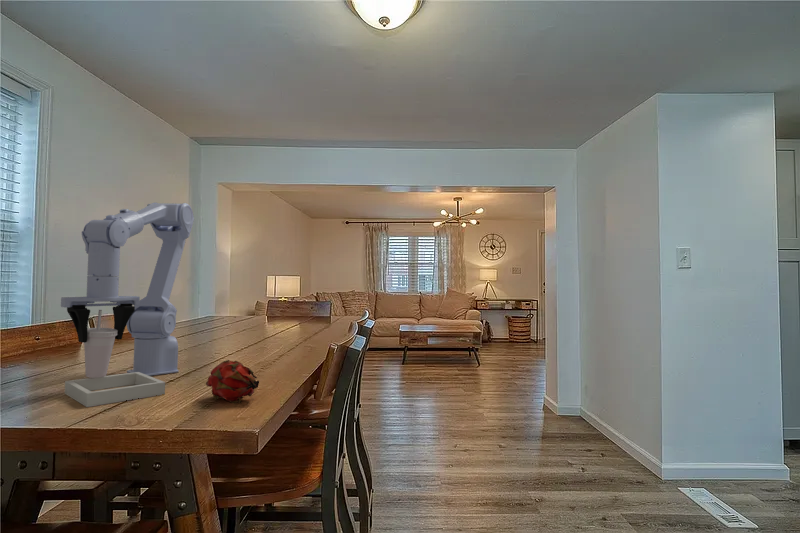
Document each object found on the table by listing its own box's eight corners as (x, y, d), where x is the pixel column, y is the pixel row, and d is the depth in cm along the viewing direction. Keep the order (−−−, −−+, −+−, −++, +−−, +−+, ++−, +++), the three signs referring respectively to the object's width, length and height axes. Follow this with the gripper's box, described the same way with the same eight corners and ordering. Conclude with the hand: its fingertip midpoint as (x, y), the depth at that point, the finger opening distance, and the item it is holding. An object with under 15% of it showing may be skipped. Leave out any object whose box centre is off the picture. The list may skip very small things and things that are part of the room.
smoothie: (70, 376, 98) (76, 308, 98) (96, 370, 105) (102, 307, 105) (95, 380, 97) (102, 312, 97) (120, 374, 103) (127, 310, 103)
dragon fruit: (214, 401, 100) (252, 419, 94) (187, 383, 94) (226, 402, 88) (237, 365, 104) (276, 381, 98) (213, 346, 98) (253, 362, 91)
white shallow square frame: (138, 382, 107) (138, 371, 108) (164, 394, 98) (165, 382, 98) (64, 393, 97) (65, 381, 97) (86, 407, 88) (87, 393, 88)
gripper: (129, 276, 109) (127, 335, 109) (55, 275, 97) (53, 341, 97) (145, 277, 105) (142, 338, 105) (70, 275, 93) (67, 345, 93)
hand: (100, 340), depth 101 cm, fingers closed on smoothie, 6 cm apart
